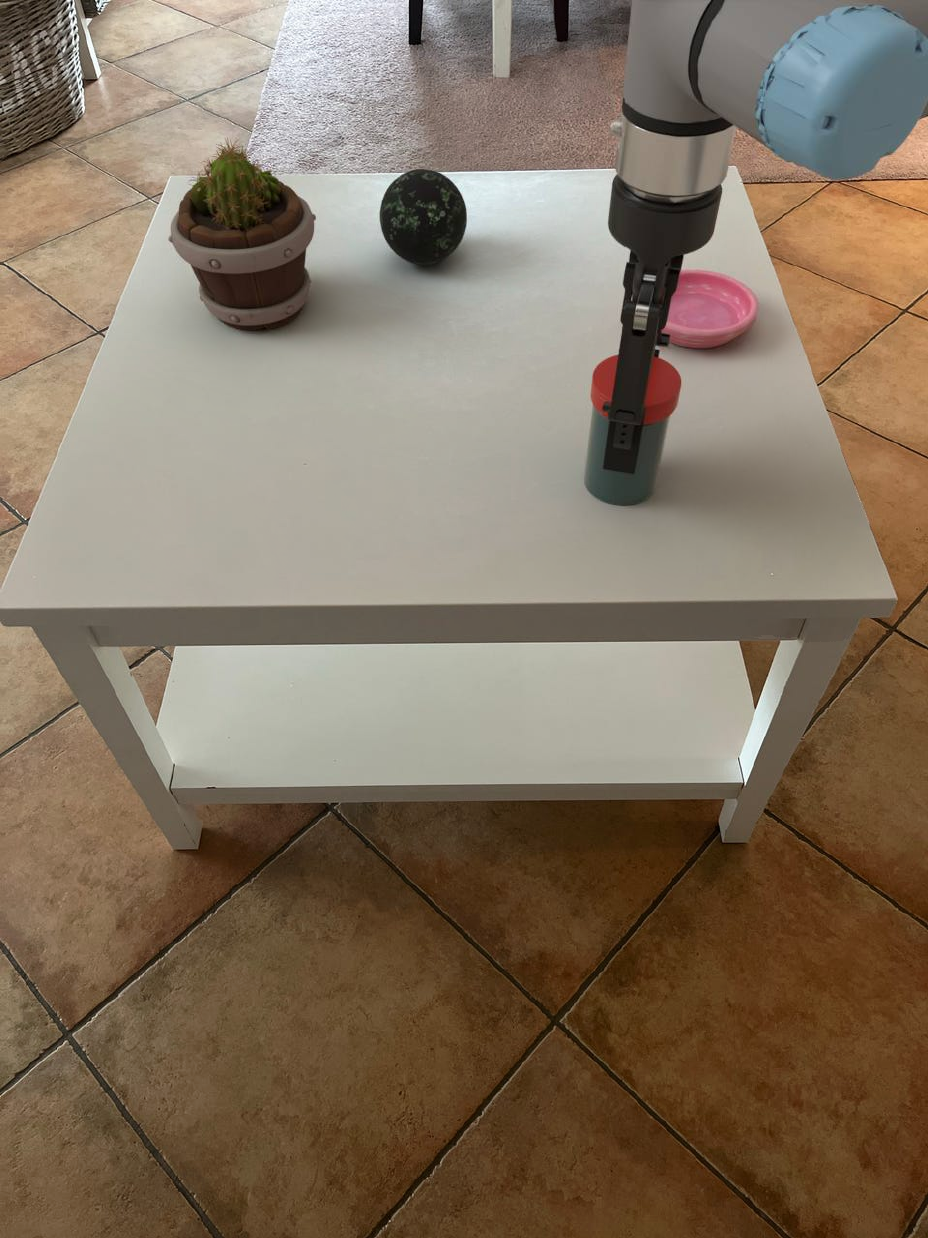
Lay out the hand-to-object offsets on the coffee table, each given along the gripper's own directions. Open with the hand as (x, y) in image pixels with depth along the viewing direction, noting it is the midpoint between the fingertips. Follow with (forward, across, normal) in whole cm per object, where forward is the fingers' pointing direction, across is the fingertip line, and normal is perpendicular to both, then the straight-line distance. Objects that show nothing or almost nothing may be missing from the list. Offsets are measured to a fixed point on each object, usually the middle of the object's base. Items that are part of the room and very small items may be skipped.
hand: (626, 438), depth 80 cm
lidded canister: (+5, 0, 0) cm, 5 cm away
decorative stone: (+5, -33, -29) cm, 44 cm away
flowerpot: (+5, -18, -44) cm, 48 cm away
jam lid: (-6, 0, 0) cm, 6 cm away
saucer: (+5, -27, +4) cm, 27 cm away
